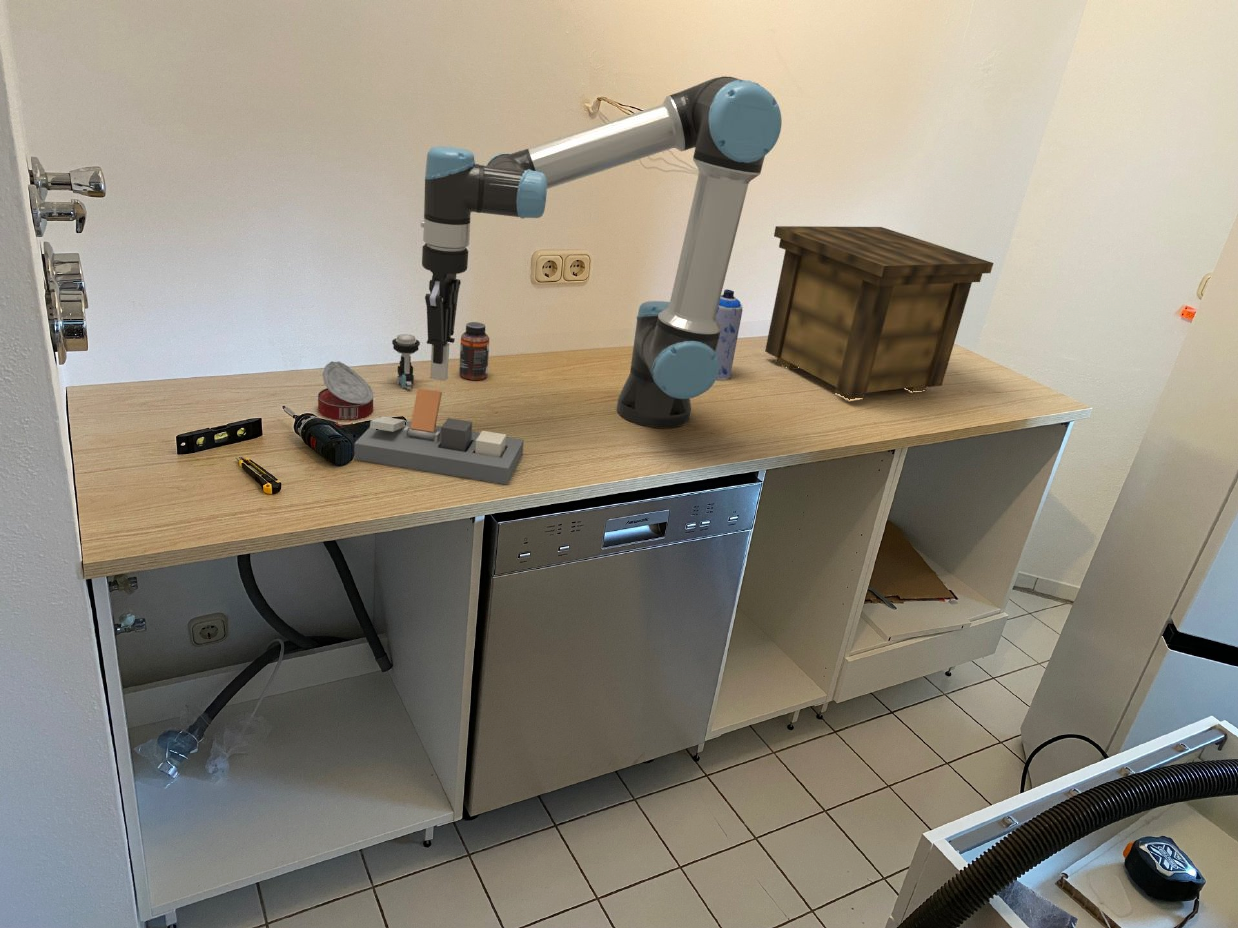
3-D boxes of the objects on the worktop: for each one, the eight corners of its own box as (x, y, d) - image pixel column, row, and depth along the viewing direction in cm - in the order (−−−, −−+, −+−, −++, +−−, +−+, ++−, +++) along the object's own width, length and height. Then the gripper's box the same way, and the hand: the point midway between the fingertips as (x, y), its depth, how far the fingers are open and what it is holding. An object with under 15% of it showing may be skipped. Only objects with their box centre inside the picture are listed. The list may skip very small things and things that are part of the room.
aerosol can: (737, 377, 212) (753, 294, 203) (714, 382, 207) (729, 297, 199) (714, 366, 217) (728, 284, 209) (690, 370, 212) (704, 287, 204)
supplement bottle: (493, 376, 193) (496, 325, 189) (474, 383, 189) (477, 331, 184) (471, 369, 196) (474, 318, 191) (453, 375, 191) (455, 323, 186)
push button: (422, 391, 181) (424, 343, 177) (395, 392, 179) (396, 344, 175) (415, 379, 187) (416, 332, 183) (389, 379, 185) (389, 332, 180)
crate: (847, 411, 201) (884, 265, 187) (750, 357, 227) (775, 226, 213) (953, 397, 219) (993, 263, 205) (851, 348, 245) (880, 226, 231)
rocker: (404, 426, 158) (405, 420, 157) (393, 431, 152) (393, 424, 152) (382, 423, 158) (382, 416, 158) (369, 427, 152) (370, 420, 152)
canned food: (353, 422, 176) (375, 375, 175) (370, 437, 168) (393, 389, 167) (298, 401, 168) (321, 353, 168) (313, 416, 161) (338, 366, 160)
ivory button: (504, 455, 157) (506, 434, 155) (498, 465, 153) (500, 444, 151) (480, 451, 157) (482, 430, 155) (474, 461, 153) (475, 440, 152)
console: (522, 455, 161) (524, 432, 159) (507, 484, 150) (509, 460, 148) (379, 431, 162) (380, 409, 160) (354, 459, 151) (354, 435, 149)
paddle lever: (434, 439, 155) (443, 392, 156) (432, 439, 154) (441, 391, 154) (409, 435, 155) (418, 389, 156) (407, 434, 154) (416, 387, 155)
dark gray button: (471, 442, 157) (472, 421, 155) (464, 452, 153) (465, 431, 151) (447, 439, 157) (448, 417, 155) (440, 448, 153) (441, 427, 151)
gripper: (435, 234, 157) (429, 363, 167) (411, 250, 145) (406, 387, 155) (477, 241, 156) (469, 370, 166) (456, 257, 145) (449, 394, 155)
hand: (438, 378), depth 161 cm, fingers closed
